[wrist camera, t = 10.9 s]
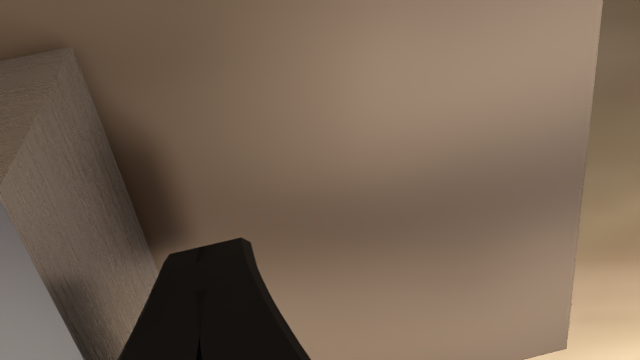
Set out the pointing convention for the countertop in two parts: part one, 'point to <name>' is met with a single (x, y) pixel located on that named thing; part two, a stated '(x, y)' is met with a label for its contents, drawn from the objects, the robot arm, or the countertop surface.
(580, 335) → the countertop surface
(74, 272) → the grey rectangular block
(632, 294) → the countertop surface
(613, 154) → the countertop surface
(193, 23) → the flat wooden platform
